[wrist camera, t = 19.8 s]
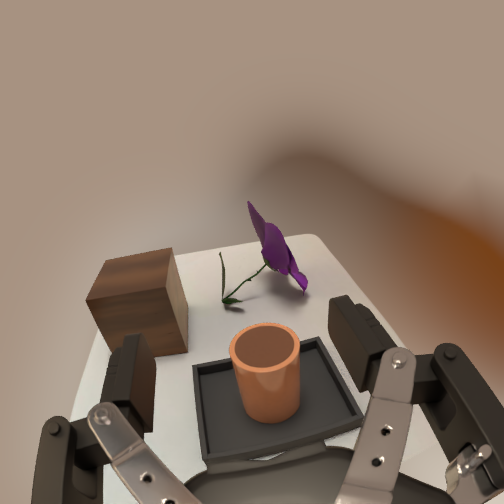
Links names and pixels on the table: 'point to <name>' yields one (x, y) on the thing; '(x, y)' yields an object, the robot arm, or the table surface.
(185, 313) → the block
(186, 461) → the table surface
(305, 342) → the tray
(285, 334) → the cup
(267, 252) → the flower
